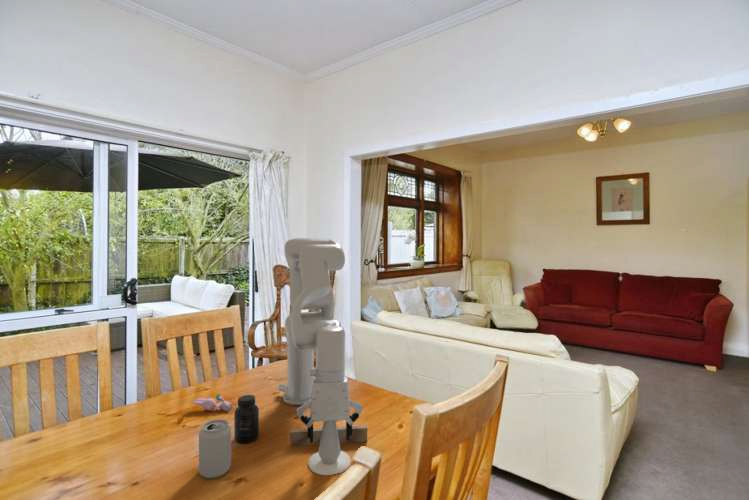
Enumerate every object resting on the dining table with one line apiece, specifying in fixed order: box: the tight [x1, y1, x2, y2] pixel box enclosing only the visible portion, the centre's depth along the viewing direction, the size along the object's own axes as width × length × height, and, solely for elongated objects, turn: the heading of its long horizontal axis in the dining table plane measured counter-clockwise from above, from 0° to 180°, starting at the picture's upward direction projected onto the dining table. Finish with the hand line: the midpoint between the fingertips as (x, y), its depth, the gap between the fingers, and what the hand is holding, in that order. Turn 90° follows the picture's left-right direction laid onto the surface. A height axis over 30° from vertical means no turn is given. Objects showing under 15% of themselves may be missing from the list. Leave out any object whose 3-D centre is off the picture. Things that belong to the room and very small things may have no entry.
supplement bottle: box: [233, 394, 260, 445], centre depth 111 cm, size 7×7×12 cm
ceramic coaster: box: [308, 450, 352, 476], centre depth 100 cm, size 11×11×1 cm
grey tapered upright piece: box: [318, 421, 341, 465], centre depth 100 cm, size 6×6×13 cm
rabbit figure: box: [189, 393, 238, 413], centre depth 129 cm, size 6×6×15 cm
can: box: [198, 418, 232, 479], centre depth 95 cm, size 8×8×12 cm
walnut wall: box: [289, 425, 368, 447], centre depth 109 cm, size 22×2×4 cm, turn 98°
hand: (329, 439), depth 99 cm, fingers open, 9 cm apart
